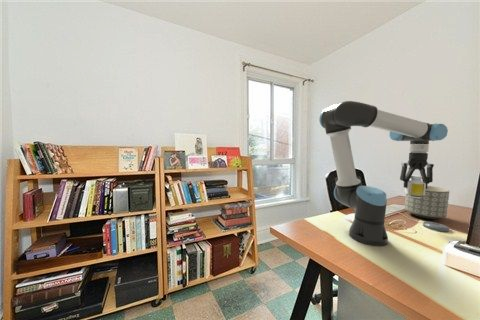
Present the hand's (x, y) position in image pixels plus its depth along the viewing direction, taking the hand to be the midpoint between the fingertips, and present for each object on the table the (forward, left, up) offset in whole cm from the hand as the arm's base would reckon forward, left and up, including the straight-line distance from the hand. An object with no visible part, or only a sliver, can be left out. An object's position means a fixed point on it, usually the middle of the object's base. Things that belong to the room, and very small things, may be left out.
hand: (414, 194), depth 108 cm
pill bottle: (0, 0, -2) cm, 2 cm away
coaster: (+10, -2, -17) cm, 20 cm away
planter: (+15, +17, -17) cm, 28 cm away
